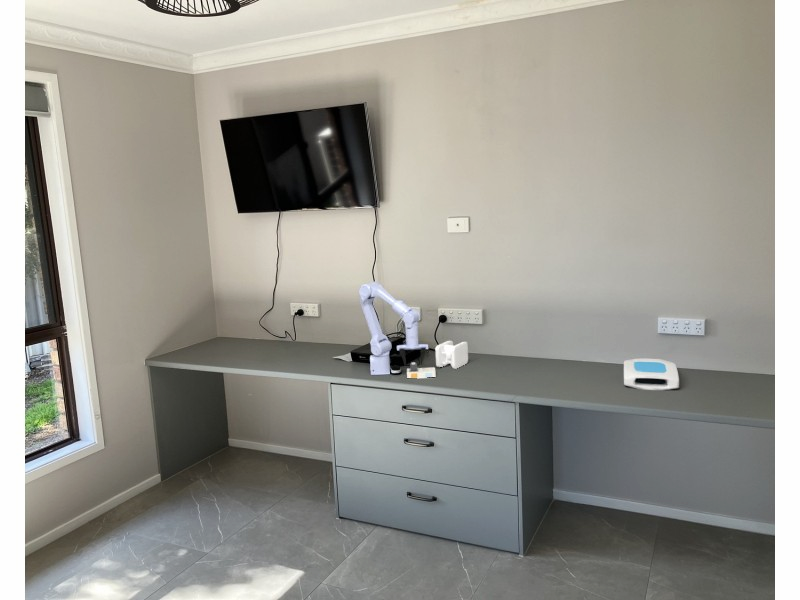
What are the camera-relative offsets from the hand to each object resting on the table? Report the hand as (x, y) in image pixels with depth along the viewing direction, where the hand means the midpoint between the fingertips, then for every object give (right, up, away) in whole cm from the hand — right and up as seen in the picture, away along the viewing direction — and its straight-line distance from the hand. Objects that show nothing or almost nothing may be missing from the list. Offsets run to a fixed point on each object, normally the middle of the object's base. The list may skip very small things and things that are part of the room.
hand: (413, 364), depth 294 cm
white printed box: (+4, -6, +1) cm, 7 cm away
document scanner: (+102, -5, -23) cm, 104 cm away
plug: (0, -6, +1) cm, 6 cm away
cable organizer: (+19, -3, +15) cm, 25 cm away
